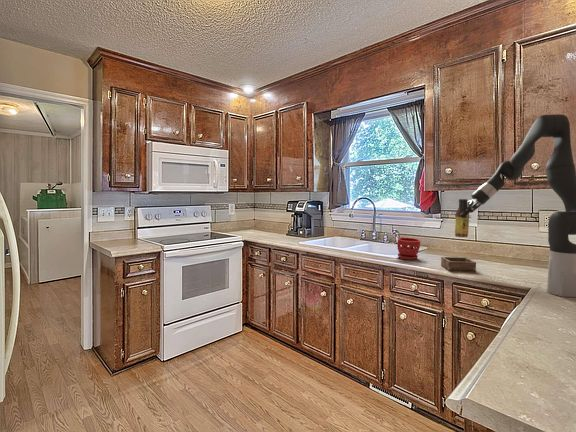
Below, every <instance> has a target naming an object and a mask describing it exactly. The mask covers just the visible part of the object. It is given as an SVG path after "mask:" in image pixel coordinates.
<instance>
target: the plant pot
mask: <svg viewBox="0 0 576 432" xmlns="http://www.w3.org/2000/svg"><path fill="white" fill-rule="evenodd" d="M396 242H397V244H396V245H397V246H396V247H397V251H398V253H397V256H398V258H399V259H403V260H409V261H411V260H417V259H418V254H419V251H420V246H421V240H420V239H417V238H414V237H398V238H397V241H396Z"/></svg>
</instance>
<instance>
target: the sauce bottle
mask: <svg viewBox="0 0 576 432" xmlns="http://www.w3.org/2000/svg"><path fill="white" fill-rule="evenodd" d="M468 201H469V199H468V198H459V199H458V209H457V210H456V212H455V214H456V215H455V222H454V223H455V225H454V236H455V237H458V238H468V235H469V230H470V229H469V228H470V227H469V226H470V224H469V223H470V213H468V214H467V215H466V216H465V217H464V218H462V217H461V216H460V214H461V213H462V212H464V211H465V210H466V209H467V202H468Z"/></svg>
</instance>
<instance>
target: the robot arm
mask: <svg viewBox="0 0 576 432" xmlns="http://www.w3.org/2000/svg"><path fill="white" fill-rule="evenodd" d="M540 138H552V139H553V142H554V143H553V144H554V149H553V152H552V153H551V155H550V157H549V159H548V160H547V163H546V165H545V174H546V175H545V176H546V179H547V183H548V185H549V187H550V188H551V190H553V191H554V193H555V194H556V195H557V196H558V197H559V198H560V200H562V201H561V202H562V203H563V205H564V210H565V211H555V212H553V213H551V215H550V216H549V218H548V219H549V220H548V224H547V225H548V227H547V230H548V235H547V236H548V237H547V238H548V239H547V240H548V245H549V253H548V254H549V256H548V269H547V270H548V271H547V284H546V285H547V286H546V287H547V288H546V292H547V293H549V294H552V295H554V296H559V297H564V298H576V243H573V242H571V241H570V238H569V236H573V235H574V236H576V166H575V163H574V157H573V150H572V143H571V142H572V141H571V125H570V120H569V118H568V116H567V115H565V114H542V115H540V116H538V117H537V118H536V119H535V120H534V122H533V123H532V125H531V126H530V129H529V130H528V132H527V134H526V136H525V137H524V139H523V141H522V143H521V144H520V145H519V147H518V149H517V150H516V151H515V152H514V153H513V154H512V156H511V157H510V159H509V160H504V161H503V162H501V163H500V164H499V166H498V167H497V169H496V171H495V173H493V175H492V176H491V177H490V178H489V179H488V180H487V181H486V182H485V183H483V184H482V185H480V186H479V187H478V188H477V189H476V190H475V191H473V192H472V194H471V198H472V199H468V202H467V209H466V210H465V211H464V212H462V213H461V214H460V216H461V217H462V218H464V217H465V216H466V215H467V214H468V213H469V214H470V213H471V214H472V213H474V212H475V211H476V210H477V209H478V208H480V207H481V206H483V205H485V204H486V203H487V202H488V201H489V200H490V199H492V198H493V196H494V195H496V193H497V192H498V191H500V190H501V189H502V188H503V187H504V186H505V184H506V183H505V180H503V178H502V177H504V178H506V179H508V180H509V181H511V182H513V181H516V180H518V179H519V178H520V176H521V175H522V174H523V171H524V168H525V166H526V165H527V164H528V163H529V162H530V160H531V159H532V158H533V156H534V155H535V154H536V153H535V152H536V147H535V146H536V145H535V144H536V142H537V141H538V140H540ZM501 175H502V177H501ZM454 215H455V216H456V213H455V214H454Z"/></svg>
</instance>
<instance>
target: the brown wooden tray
mask: <svg viewBox="0 0 576 432" xmlns="http://www.w3.org/2000/svg"><path fill="white" fill-rule="evenodd" d="M440 259H441V260H440V266H441V267H442V268H443V269H445V270H446V271H448V272H462V273H463V272H464V273H476V271H477V270H476V268H477V262H476V261H474V260H472V259H470V258H468V257H464V256H463V257H462V256H461V257H460V256H459V257H458V256H441V257H440Z"/></svg>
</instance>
